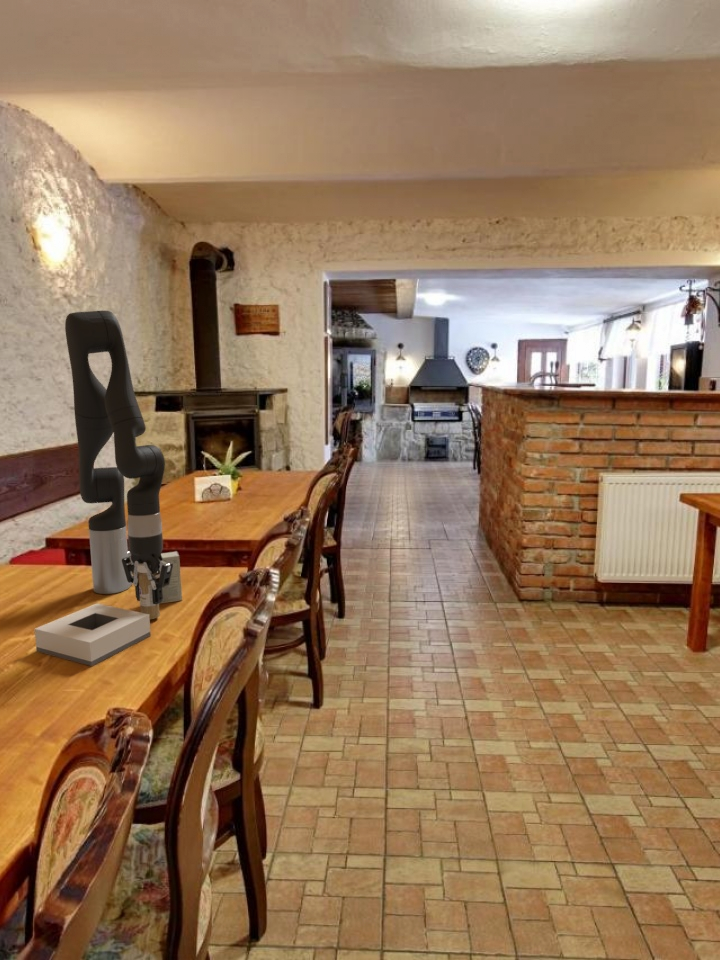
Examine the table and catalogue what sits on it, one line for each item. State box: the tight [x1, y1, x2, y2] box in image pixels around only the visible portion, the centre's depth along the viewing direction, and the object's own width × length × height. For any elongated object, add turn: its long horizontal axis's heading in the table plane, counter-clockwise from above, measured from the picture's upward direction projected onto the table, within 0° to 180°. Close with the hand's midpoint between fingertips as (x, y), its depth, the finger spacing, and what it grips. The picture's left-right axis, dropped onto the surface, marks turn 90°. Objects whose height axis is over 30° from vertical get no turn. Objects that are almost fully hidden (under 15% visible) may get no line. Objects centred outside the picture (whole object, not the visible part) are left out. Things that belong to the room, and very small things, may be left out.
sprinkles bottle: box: [137, 564, 161, 620], centre depth 142 cm, size 5×5×14 cm
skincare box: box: [159, 550, 183, 605], centre depth 155 cm, size 6×4×12 cm
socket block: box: [34, 602, 151, 667], centre depth 130 cm, size 16×16×5 cm
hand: (149, 601), depth 143 cm, fingers closed on sprinkles bottle, 4 cm apart
